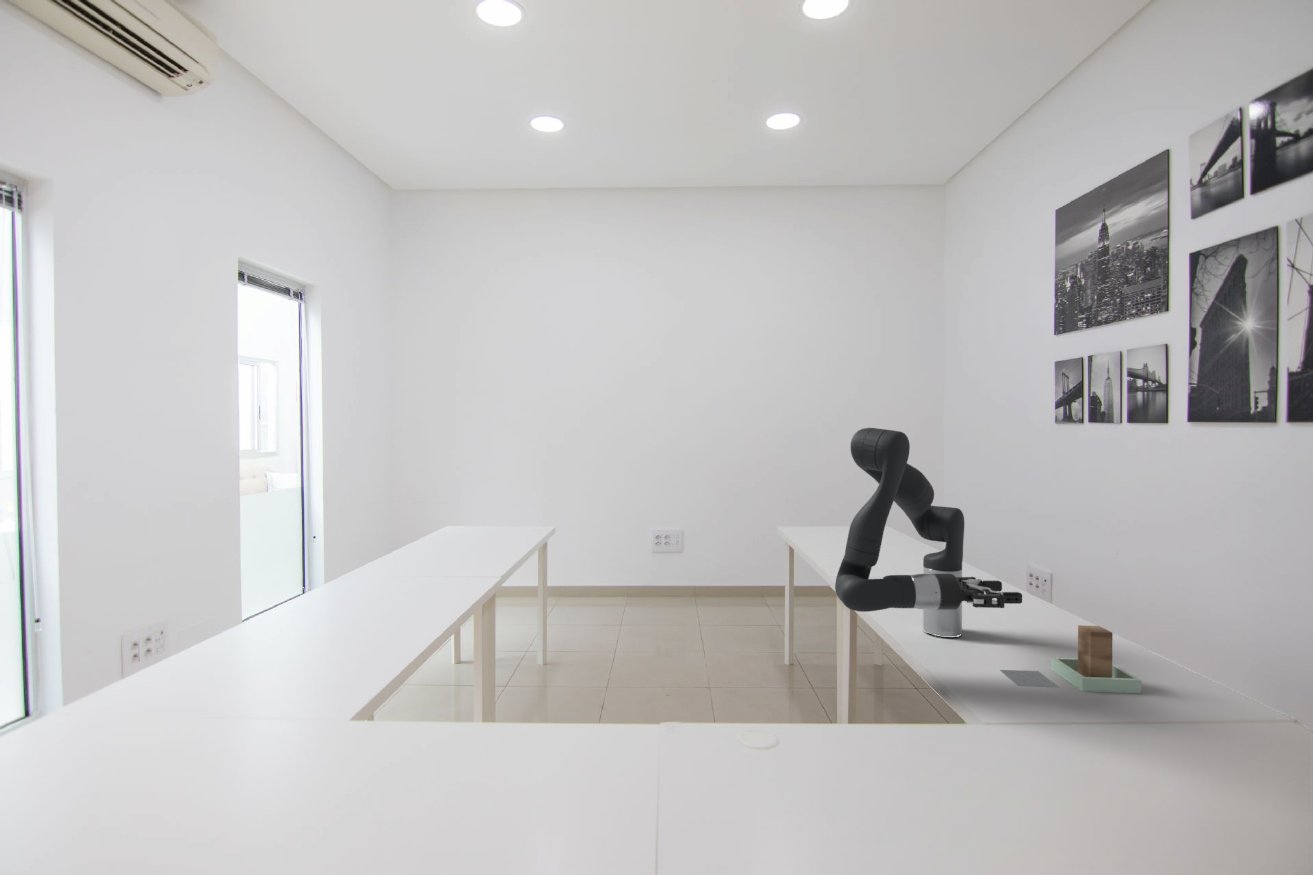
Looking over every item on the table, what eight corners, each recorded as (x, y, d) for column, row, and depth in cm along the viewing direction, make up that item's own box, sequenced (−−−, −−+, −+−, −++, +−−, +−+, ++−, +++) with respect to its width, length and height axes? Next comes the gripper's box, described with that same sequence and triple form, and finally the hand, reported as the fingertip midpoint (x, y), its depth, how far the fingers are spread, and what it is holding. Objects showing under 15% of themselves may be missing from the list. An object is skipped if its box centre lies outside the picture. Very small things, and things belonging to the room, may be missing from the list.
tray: (1051, 673, 130) (1051, 657, 130) (1104, 675, 129) (1105, 659, 129) (1082, 695, 119) (1082, 678, 119) (1141, 697, 118) (1141, 680, 118)
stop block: (1077, 676, 126) (1078, 625, 126) (1098, 677, 126) (1099, 625, 126) (1090, 685, 122) (1090, 632, 122) (1112, 686, 122) (1112, 632, 122)
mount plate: (999, 674, 130) (999, 669, 130) (1038, 675, 129) (1038, 670, 129) (1018, 690, 122) (1018, 685, 122) (1059, 691, 121) (1059, 686, 121)
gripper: (945, 583, 121) (1028, 583, 120) (920, 565, 136) (994, 565, 134) (945, 620, 122) (1028, 620, 120) (920, 598, 136) (994, 598, 134)
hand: (1010, 591), depth 127 cm, fingers open, 8 cm apart
